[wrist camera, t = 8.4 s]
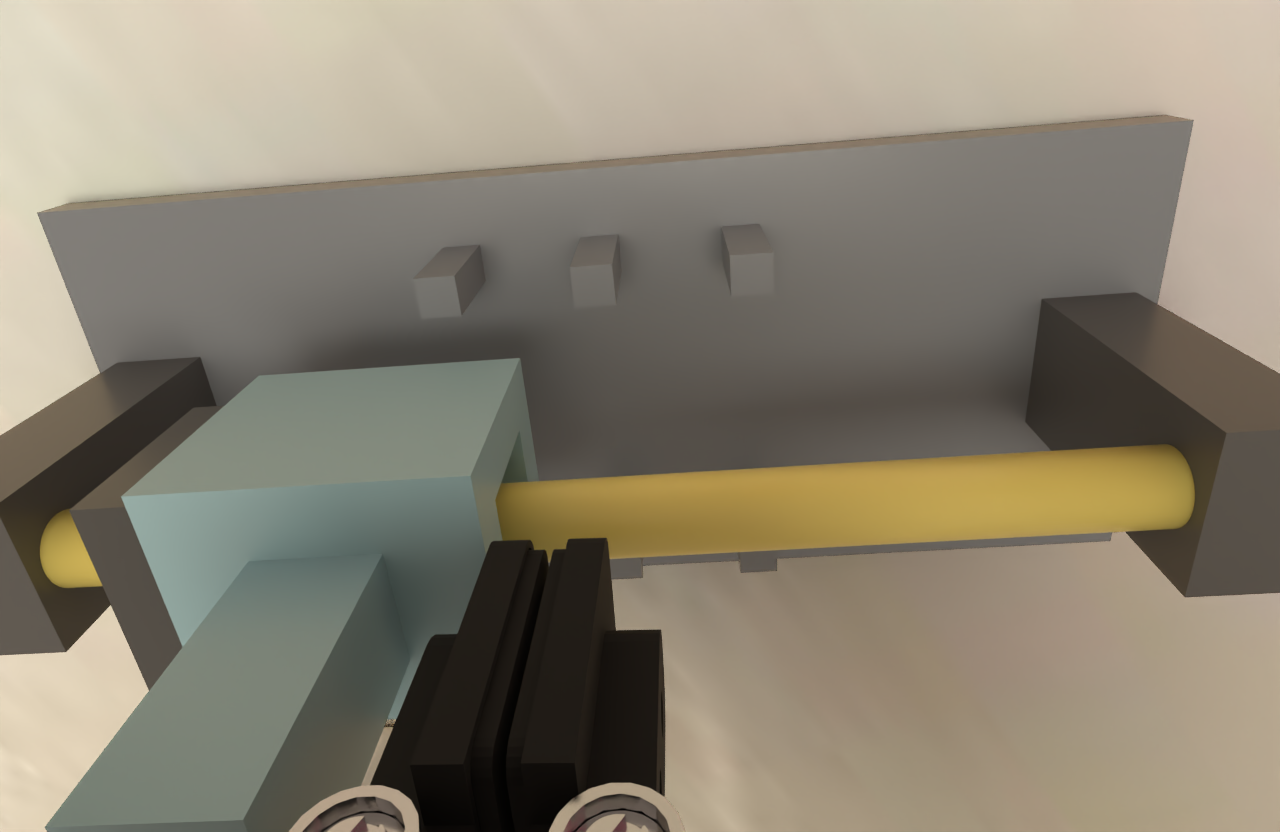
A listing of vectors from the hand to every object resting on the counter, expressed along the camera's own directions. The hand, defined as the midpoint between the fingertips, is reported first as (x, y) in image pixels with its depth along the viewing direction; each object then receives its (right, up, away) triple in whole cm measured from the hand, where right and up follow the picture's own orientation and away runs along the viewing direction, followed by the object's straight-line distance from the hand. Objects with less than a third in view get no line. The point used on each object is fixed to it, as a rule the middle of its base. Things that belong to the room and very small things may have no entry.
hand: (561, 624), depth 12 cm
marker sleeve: (-3, +2, +5) cm, 6 cm away
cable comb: (+1, +4, +8) cm, 9 cm away
